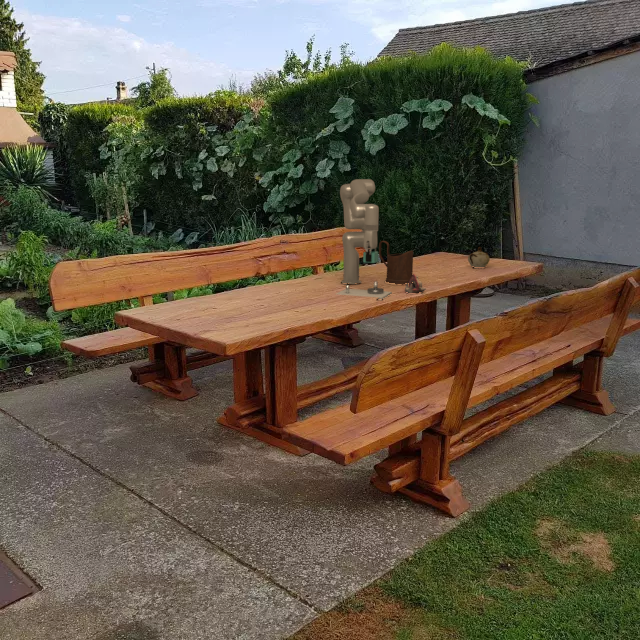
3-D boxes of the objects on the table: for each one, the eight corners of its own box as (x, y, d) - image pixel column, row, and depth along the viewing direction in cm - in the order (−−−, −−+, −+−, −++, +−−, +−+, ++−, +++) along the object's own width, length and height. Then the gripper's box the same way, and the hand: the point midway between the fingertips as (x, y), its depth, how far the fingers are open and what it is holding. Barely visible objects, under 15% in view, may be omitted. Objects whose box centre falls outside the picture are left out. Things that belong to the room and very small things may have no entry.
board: (346, 291, 389) (346, 288, 389) (391, 294, 379) (391, 291, 379) (334, 296, 372) (334, 294, 371) (381, 300, 362) (381, 297, 362)
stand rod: (346, 292, 376) (346, 284, 375) (349, 293, 375) (350, 285, 374) (345, 293, 374) (345, 285, 373) (348, 293, 373) (348, 285, 372)
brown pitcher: (404, 286, 406) (406, 244, 400) (371, 282, 420) (371, 241, 415) (419, 282, 420) (421, 242, 415) (386, 278, 434) (387, 239, 429)
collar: (367, 260, 376) (367, 251, 374) (378, 261, 373) (378, 251, 372) (363, 262, 370) (363, 252, 369) (374, 263, 367) (374, 252, 366)
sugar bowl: (478, 265, 491) (479, 245, 488) (495, 268, 480) (496, 247, 477) (461, 268, 479) (462, 247, 476) (477, 270, 468) (479, 248, 465)
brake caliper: (398, 288, 386) (410, 270, 386) (411, 298, 390) (422, 281, 391) (407, 291, 375) (420, 273, 376) (421, 302, 380) (433, 284, 380)
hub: (370, 290, 381) (370, 279, 380) (385, 292, 378) (385, 280, 377) (365, 293, 373) (365, 282, 372) (380, 294, 370) (381, 283, 369)
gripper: (370, 226, 377) (369, 258, 381) (359, 229, 361) (358, 262, 365) (382, 227, 374) (382, 259, 378) (372, 229, 358) (372, 263, 362)
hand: (370, 260), depth 371 cm, fingers closed on collar, 6 cm apart
